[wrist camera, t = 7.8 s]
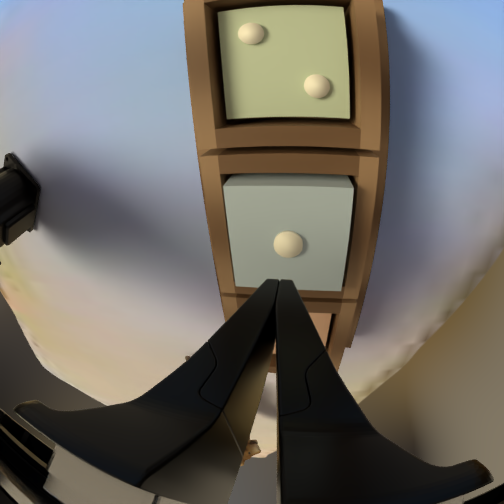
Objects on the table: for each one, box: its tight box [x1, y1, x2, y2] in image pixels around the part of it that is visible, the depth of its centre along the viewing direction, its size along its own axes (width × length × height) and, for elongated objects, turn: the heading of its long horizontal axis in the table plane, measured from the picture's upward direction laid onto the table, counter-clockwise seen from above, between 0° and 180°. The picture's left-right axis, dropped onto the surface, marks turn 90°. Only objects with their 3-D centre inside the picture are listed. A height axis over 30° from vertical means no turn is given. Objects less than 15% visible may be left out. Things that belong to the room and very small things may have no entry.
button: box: [223, 173, 354, 291], centre depth 12 cm, size 5×5×2 cm
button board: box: [183, 0, 390, 373], centre depth 14 cm, size 24×10×5 cm, turn 4°
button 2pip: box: [218, 5, 350, 119], centre depth 9 cm, size 5×5×2 cm
